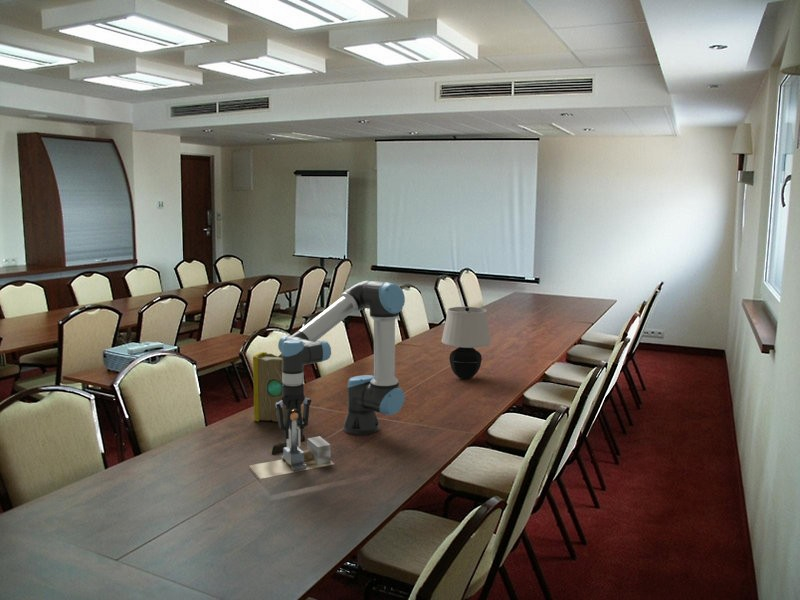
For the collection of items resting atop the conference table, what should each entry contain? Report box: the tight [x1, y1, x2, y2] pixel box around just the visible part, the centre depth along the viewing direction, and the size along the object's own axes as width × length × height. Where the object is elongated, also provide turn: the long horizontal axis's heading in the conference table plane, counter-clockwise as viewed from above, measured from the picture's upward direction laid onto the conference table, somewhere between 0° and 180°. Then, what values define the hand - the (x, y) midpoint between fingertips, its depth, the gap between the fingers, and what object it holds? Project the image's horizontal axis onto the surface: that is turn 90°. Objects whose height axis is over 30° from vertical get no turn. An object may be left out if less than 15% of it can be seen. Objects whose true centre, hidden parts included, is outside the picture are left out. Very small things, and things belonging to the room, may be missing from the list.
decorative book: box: [252, 351, 303, 423], centre depth 293 cm, size 20×11×30 cm, turn 77°
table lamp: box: [440, 306, 492, 381], centre depth 365 cm, size 27×27×40 cm
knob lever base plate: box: [248, 435, 335, 484], centre depth 242 cm, size 28×13×8 cm, turn 120°
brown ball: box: [302, 449, 313, 462], centre depth 245 cm, size 4×4×4 cm
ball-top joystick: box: [280, 410, 307, 471], centre depth 241 cm, size 5×12×20 cm, turn 30°
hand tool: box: [271, 434, 306, 455], centre depth 260 cm, size 19×4×5 cm, turn 150°
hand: (293, 446), depth 241 cm, fingers closed on ball-top joystick, 3 cm apart
